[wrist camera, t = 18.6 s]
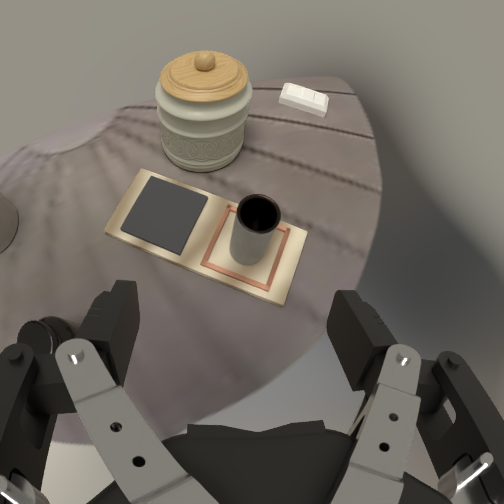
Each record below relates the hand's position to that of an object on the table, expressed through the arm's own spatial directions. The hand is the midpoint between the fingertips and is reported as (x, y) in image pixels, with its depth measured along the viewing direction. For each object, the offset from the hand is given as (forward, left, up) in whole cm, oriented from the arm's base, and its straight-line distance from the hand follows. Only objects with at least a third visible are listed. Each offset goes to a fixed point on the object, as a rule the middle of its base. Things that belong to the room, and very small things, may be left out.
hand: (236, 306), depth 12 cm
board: (-7, +13, -27) cm, 31 cm away
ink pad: (-13, +13, -26) cm, 31 cm away
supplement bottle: (-16, -9, -27) cm, 33 cm away
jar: (-14, +27, -27) cm, 41 cm away
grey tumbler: (-1, +13, -26) cm, 29 cm away
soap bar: (-2, +46, -27) cm, 53 cm away
